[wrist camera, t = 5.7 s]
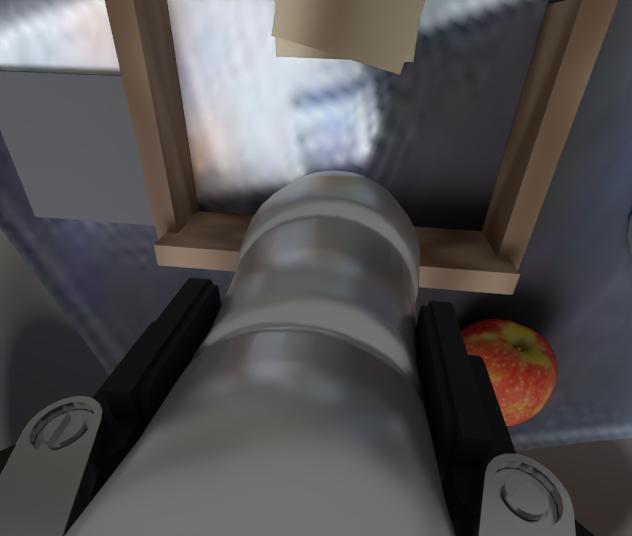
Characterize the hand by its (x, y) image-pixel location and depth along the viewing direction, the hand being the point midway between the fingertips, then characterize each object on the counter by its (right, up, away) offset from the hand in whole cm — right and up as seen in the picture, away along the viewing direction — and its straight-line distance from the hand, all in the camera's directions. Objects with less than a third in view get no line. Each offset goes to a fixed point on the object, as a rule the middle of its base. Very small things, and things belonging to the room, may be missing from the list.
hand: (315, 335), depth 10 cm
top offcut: (+2, +16, +10) cm, 19 cm away
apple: (+15, -5, +24) cm, 28 cm away
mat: (-18, +11, +18) cm, 28 cm away
